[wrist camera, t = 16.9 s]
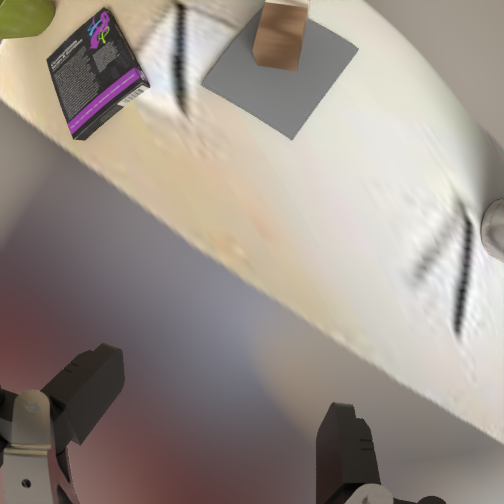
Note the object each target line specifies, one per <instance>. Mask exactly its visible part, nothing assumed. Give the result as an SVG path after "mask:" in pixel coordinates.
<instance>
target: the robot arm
mask: <svg viewBox="0 0 504 504" xmlns="http://www.w3.org/2000/svg"><path fill="white" fill-rule="evenodd" d="M481 236H482V242H483V246H484V248H485V250H486V251H487V252H488V254H489V255H491V256H492V257H494V258H496V259H498V260H500V261H502V262H503V263H504V199H499V200H497V201H495V202H493V203H492V204H491V205H490V206H489V208H488V209H487V211H486V213H485V215H484V218H483V221H482V227H481ZM124 381H125V376H124V364H123V353H122V350H121V349H119V348H117V347H114V346H111V345H109V344H106V343H102V344H101V345H100V346H99V347H98V348H97V349H95V350H94V351H91V350H89V351H86V352H84V353H81V354H79V355H78V356H77V357H75V358H74V359H73V360H72V361H71V363H70V364H68V365H67V366H66V367H65V368H64V370H61V371H60V372H59V373H58V374H57V375H56V376H55V377H54V378H53V379H52V380H51V381H50V382H49V383H48V384H47V385H46V386H45V387H44V388H43V389H41V390H40V391H37V390H26V391H23V392H21V393H20V394H19V395H18V394H15V393H12V392H9V391H6V390H3V389H2V388H1V386H0V467H1V466H2V465H3V467H4V494H5V504H80V502H79V499H78V496H77V494H76V491H75V489H74V484H73V479H72V473H71V467H70V461H69V453H68V448H67V445H68V444H69V442H70V441H71V440H72V441H73V442H75V443H77V444H79V445H81V444H82V443H83V442H84V440H85V439H86V437H87V436H88V435H89V433H90V432H91V431H92V429H93V428H94V427H95V425H96V424H97V423H98V421H99V420H100V419H101V417H102V416H103V415H104V413H105V412H106V410H107V409H108V408H109V407H110V405H111V404H112V403H113V401H114V400H115V399H116V397H117V396H118V395H119V393H120V392H121V390H122V388H123V386H124ZM316 504H446V502H445V501H444V500H442V499H441V498H439V497H436V496H428V497H424V498H422V499H421V500H420V501H419V502H418V503H414V502H409V501H403V500H398V499H395V498H393V497H392V495H391V493H390V492H389V491H388V490H387V489H386V488H385V487H383V486H382V485H381V482H380V478H379V472H378V465H377V461H376V455H375V451H374V444H373V442H372V435H371V430H370V428H369V426H368V425H367V424H366V422H365V421H364V419H360V418H356V416H355V410H354V407H353V405H352V404H343V403H335V402H333V403H332V404H331V405H330V407H329V410H328V412H327V414H326V416H325V418H324V420H323V422H322V423H321V425H320V427H319V430H318V433H317V437H316Z"/></svg>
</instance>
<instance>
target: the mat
mask: <svg viewBox="0 0 504 504" xmlns="http://www.w3.org/2000/svg"><path fill="white" fill-rule="evenodd" d="M263 8H264V6H263V7H262V8H261V9H260V11H259V12H258V13H257V14H256V15H255V16H254V17H253V19H252V20H251V21H250V22H249V23H248V24H247V26H246V27H245V28H244V29H243V30H242V31H241V33H240V34H239V35H238V36H237V38H236V39H235V40H234V41H233V42H232V44H231V45H230V46H229V48H228V49H227V50H226V51H225V53H224V54H223V55H222V57H221V58H220V59H219V60H218V62H217V63H216V64H215V66H214V67H213V68H212V70H211V71H210V73H209V74H208V75H207V77H206V78H205V79H204V81H203V82H202V84H201V85H202V86H203V87H205V88H207V89H208V90H210V91H212V92H214V93H216V94H218V95H219V96H221V97H223V98H225V99H226V100H228V101H230V102H232V103H233V104H235V105H237V106H238V107H240V108H242V109H243V110H245V111H247V112H248V113H250V114H252V115H253V116H255V117H257V118H258V119H260V120H261V121H263V122H265V123H266V124H268V125H269V126H271V127H272V128H274V129H276V130H277V131H279V132H280V133H282V134H283V135H285V136H286V137H288V138H289V139H291V140H293V139H294V137H295V136H296V134H297V133H298V132H299V130H300V129H301V127H302V126H303V125H304V123H305V122H306V120H307V119H308V118H309V116H310V115H311V114H312V112H313V111H314V109H315V108H316V107H317V105H318V104H319V103H320V101H321V100H322V98H323V97H324V96H325V94H326V93H327V92H328V90H329V89H330V88H331V86H332V85H333V84H334V82H335V81H336V80H337V78H338V77H339V76H340V74H341V73H342V72H343V70H344V69H345V68H346V66H347V65H348V64H349V62H350V61H351V60H352V58H353V57H354V56H355V54H356V53H357V52H358V50H359V48H357V47H355V46H354V45H352V44H351V43H349V42H348V41H346V40H344V39H343V38H341V37H339V36H338V35H336V34H334V33H333V32H331V31H329V30H328V29H326V28H324V27H322V26H320V25H319V24H317V23H315V22H313V21H311V20H309V19H308V20H307V25H306V30H305V35H304V40H303V45H302V49H301V54H300V59H299V64H298V69H297V72H294V71H288V70H283V69H277V68H271V67H264V66H258V65H257V62H256V60H255V57H254V55H253V52H252V50H253V46H254V42H255V38H256V34H257V30H258V26H259V23H260V19H261V15H262V11H263Z"/></svg>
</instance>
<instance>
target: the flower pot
mask: <svg viewBox="0 0 504 504" xmlns="http://www.w3.org/2000/svg"><path fill="white" fill-rule="evenodd" d="M54 14H55V8H54V6H53V4H52V3H51V1H50V0H0V39H9V38H22V37H31V36H37V35H39V34H41V33H42V32H43V31H44V30H45V29H46V28H47V27H48V26H49V24H50V23H51V21H52V19H53V17H54Z"/></svg>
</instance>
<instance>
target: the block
mask: <svg viewBox="0 0 504 504" xmlns="http://www.w3.org/2000/svg"><path fill="white" fill-rule="evenodd" d="M309 6H310V0H265V4H264V8H263V11H262V15H261V19H260V23H259V26H258V30H257V34H256V38H255V42H254V46H253V50H252V52H253V55H254V57H255V60H256V62H257V65H258V66H264V67H271V68H277V69H283V70H288V71H294V72H297V69H298V64H299V59H300V54H301V49H302V45H303V40H304V35H305V30H306V25H307V20H308V15H309Z"/></svg>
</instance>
